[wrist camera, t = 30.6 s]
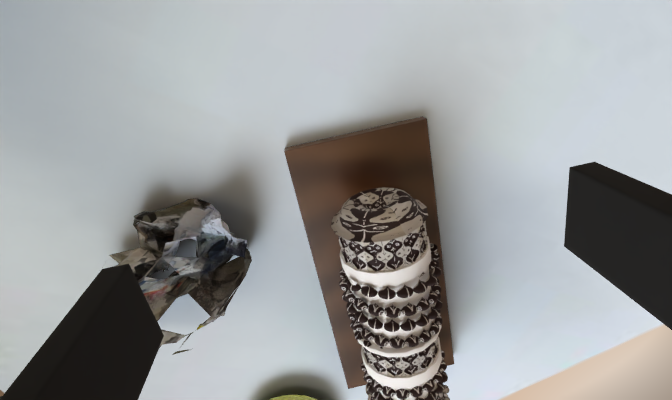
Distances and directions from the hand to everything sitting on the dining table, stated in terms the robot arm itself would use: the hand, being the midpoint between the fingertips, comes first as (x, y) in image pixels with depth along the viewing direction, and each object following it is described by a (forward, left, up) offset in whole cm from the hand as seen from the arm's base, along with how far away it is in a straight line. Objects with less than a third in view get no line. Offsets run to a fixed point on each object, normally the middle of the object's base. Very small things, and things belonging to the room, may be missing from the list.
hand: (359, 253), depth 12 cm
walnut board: (+3, -18, -25) cm, 31 cm away
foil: (-17, -11, -25) cm, 32 cm away
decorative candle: (+3, -32, -19) cm, 38 cm away
